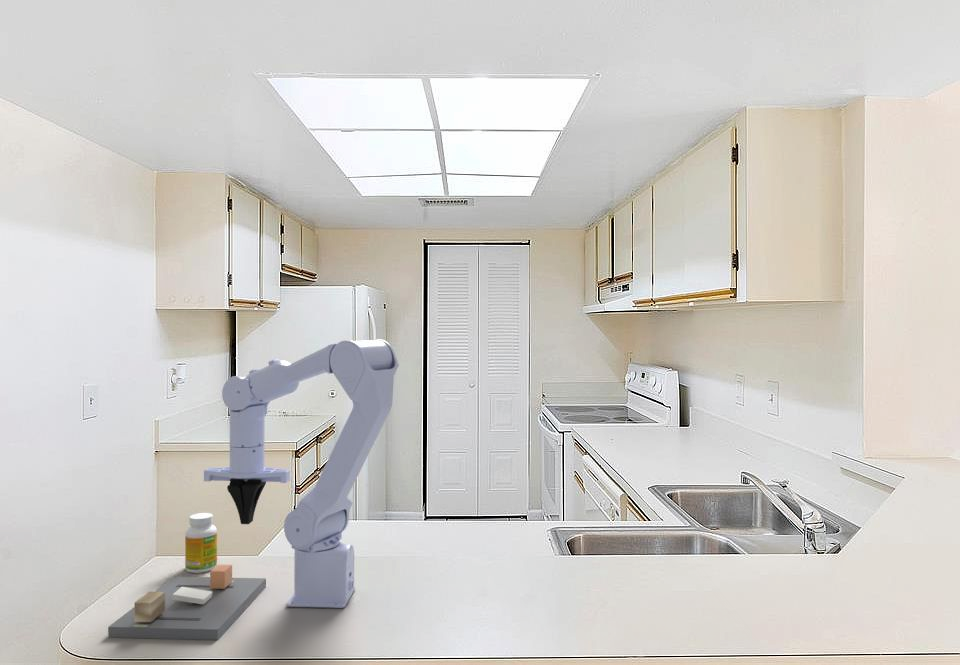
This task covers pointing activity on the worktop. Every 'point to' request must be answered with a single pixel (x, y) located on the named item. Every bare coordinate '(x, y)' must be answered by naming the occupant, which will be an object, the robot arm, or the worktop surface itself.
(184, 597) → the off-white rocker
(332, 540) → the robot arm
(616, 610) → the worktop surface
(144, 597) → the tan cardboard carton
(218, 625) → the switch panel
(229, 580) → the peach slider
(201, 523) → the supplement bottle
